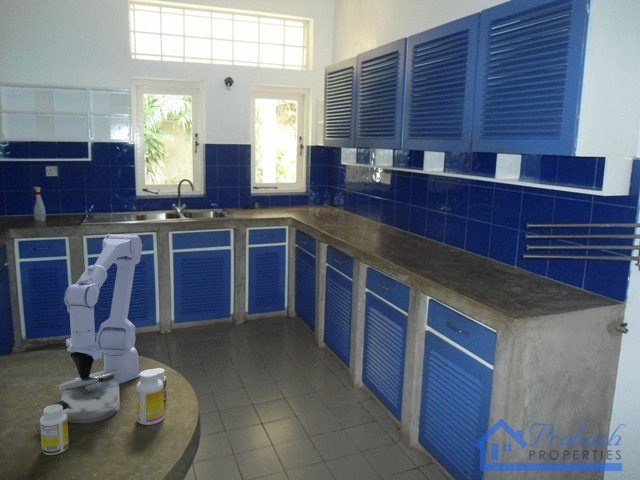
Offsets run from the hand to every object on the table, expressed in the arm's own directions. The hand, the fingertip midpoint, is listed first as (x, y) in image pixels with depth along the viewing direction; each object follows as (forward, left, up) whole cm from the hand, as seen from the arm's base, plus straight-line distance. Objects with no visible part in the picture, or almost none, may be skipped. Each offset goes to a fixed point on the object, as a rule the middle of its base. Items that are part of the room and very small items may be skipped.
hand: (84, 377), depth 136 cm
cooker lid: (0, +4, 0) cm, 4 cm away
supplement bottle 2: (-7, +19, -8) cm, 22 cm away
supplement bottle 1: (+15, +14, -8) cm, 22 cm away
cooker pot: (+3, +3, -8) cm, 9 cm away
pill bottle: (-15, +11, -8) cm, 20 cm away
